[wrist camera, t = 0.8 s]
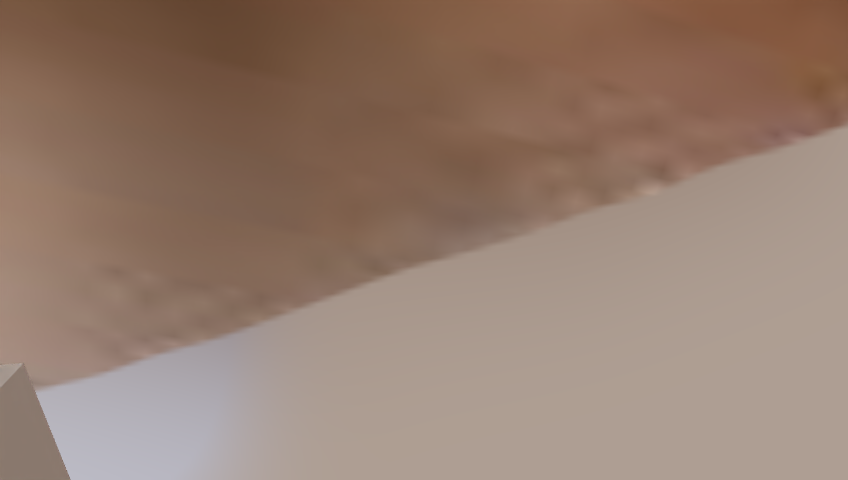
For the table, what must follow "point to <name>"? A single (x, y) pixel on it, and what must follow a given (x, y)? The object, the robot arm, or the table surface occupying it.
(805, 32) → the table surface
